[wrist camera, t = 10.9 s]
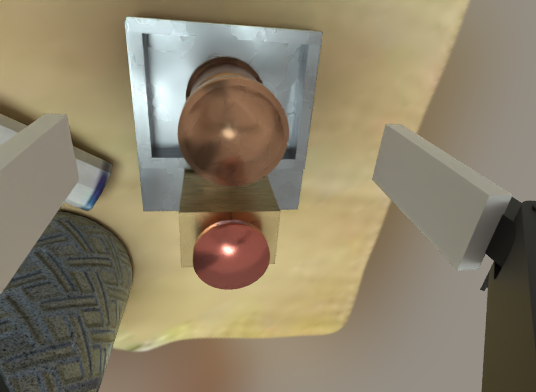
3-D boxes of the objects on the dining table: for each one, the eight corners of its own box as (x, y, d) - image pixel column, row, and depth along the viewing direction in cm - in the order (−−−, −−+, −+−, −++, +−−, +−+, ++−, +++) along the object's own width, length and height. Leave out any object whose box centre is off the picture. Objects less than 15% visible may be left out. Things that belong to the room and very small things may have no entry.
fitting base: (126, 15, 23) (71, 20, 14) (317, 30, 25) (384, 43, 16) (144, 206, 30) (116, 299, 20) (295, 204, 32) (333, 287, 22)
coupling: (185, 53, 24) (175, 75, 16) (266, 58, 25) (294, 81, 17) (187, 133, 26) (179, 186, 19) (261, 135, 27) (283, 186, 20)
